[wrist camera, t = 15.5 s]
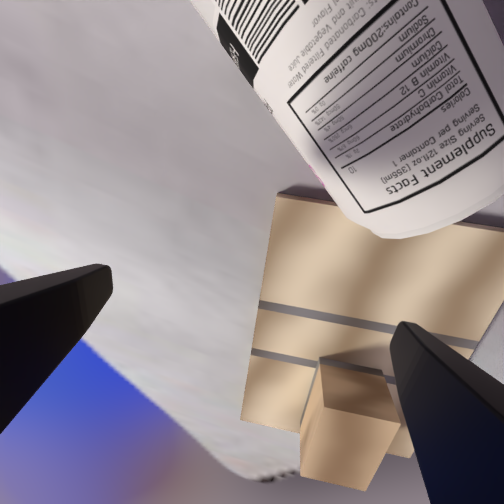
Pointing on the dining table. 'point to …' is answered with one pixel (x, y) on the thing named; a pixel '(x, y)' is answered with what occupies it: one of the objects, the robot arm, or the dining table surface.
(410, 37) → the supplement can
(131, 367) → the dining table surface
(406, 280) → the board
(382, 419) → the block
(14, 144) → the dining table surface
